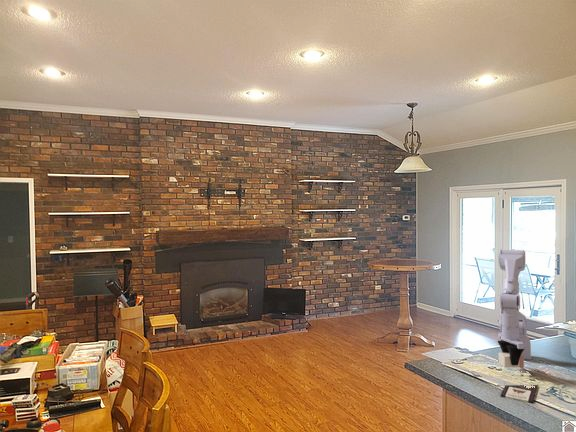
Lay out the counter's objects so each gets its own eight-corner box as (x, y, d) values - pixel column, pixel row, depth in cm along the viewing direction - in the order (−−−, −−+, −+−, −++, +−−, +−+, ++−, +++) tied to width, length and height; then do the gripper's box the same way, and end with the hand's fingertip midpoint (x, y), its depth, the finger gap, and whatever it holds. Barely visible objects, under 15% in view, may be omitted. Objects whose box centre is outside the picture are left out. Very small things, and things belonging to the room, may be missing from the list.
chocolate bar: (538, 383, 144) (533, 401, 129) (538, 385, 144) (533, 404, 129) (508, 377, 149) (500, 395, 134) (508, 380, 149) (500, 397, 134)
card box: (498, 363, 158) (498, 352, 158) (517, 363, 158) (517, 352, 158) (504, 367, 154) (504, 356, 154) (523, 367, 153) (523, 356, 154)
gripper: (532, 331, 149) (533, 369, 148) (511, 321, 163) (511, 356, 163) (512, 331, 149) (513, 369, 149) (492, 321, 163) (493, 356, 163)
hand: (511, 362), depth 156 cm, fingers closed on card box, 4 cm apart
